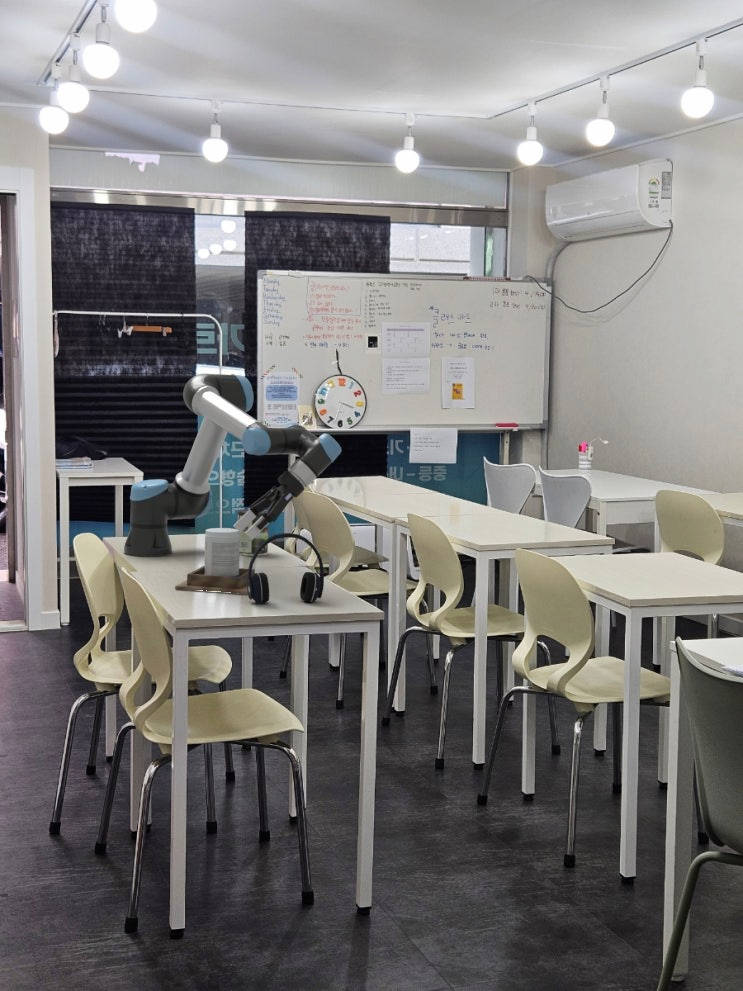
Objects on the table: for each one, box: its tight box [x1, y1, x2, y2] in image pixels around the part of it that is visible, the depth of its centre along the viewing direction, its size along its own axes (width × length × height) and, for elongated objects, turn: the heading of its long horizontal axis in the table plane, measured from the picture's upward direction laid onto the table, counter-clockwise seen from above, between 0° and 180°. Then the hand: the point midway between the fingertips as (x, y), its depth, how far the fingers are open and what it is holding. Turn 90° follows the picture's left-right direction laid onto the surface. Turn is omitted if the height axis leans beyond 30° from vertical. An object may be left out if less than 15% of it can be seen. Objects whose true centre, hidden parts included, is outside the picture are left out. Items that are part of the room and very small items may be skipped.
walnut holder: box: [174, 565, 256, 595], centre depth 328 cm, size 20×20×4 cm
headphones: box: [247, 532, 325, 604], centre depth 308 cm, size 20×7×18 cm, turn 108°
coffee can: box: [237, 509, 269, 557], centre depth 386 cm, size 10×10×14 cm
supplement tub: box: [204, 527, 240, 577], centre depth 327 cm, size 10×10×15 cm
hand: (242, 532), depth 327 cm, fingers open, 13 cm apart
